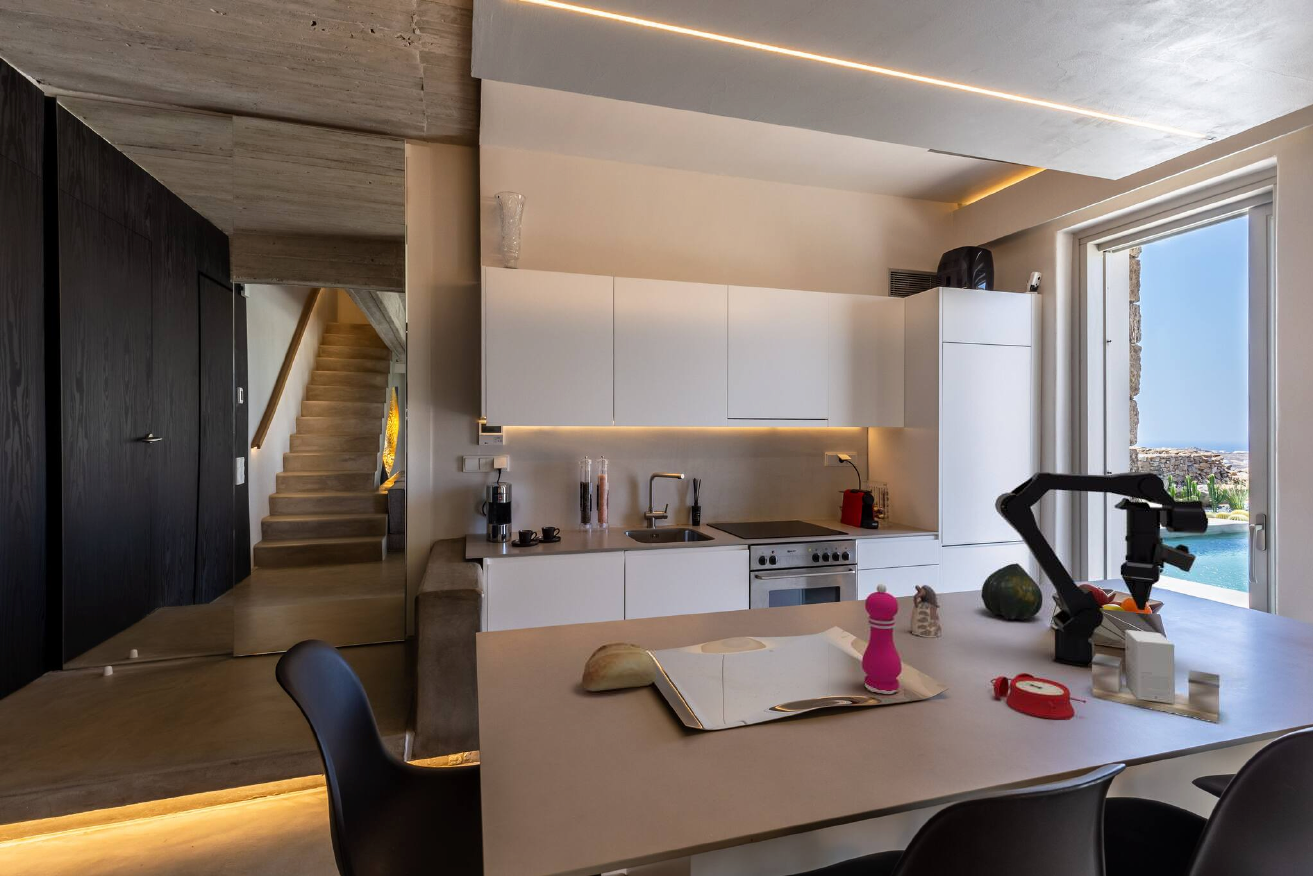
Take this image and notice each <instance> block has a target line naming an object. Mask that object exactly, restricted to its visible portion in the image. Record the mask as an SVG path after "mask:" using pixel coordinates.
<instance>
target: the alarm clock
mask: <svg viewBox="0 0 1313 876" xmlns="http://www.w3.org/2000/svg"><path fill="white" fill-rule="evenodd" d="M1009 681H1010V682H1009ZM990 683H991V684H992V686H993V693H994V696H995V698H997V699H998V700H1001V701H1002V699H1001V698H1002V697H1004V698H1005V699H1006V704H1007V705H1008V706H1009V707H1010V708H1011V709H1014V710H1016V711H1018V712H1020V713H1023V714H1025V715H1028V716H1033V717H1038V718H1041V719H1042V718H1043V719H1051V720H1059V719H1060V720H1063V719H1064V720H1066V721H1070V720H1071V717H1073V716H1074V715H1075V709H1074V707H1073V706H1072V702H1071V700H1072V701H1075V702H1082V703H1083V704H1087V703H1086V702H1087V701H1086V700H1081V699H1077V698H1074V697H1071V692H1070V689H1069V688H1068V687H1067V686H1066V685H1064V684H1063V683H1059V682H1057V681H1053V680H1051V679H1045V678H1041V677H1034V675H1032V674H1030V673H1026V672H1023V673H1022V672H1021V673H1018V674H1016V675H1015V677H1014V678H1009V677H1006V676H998V677H996V678H992V679H991V680H990Z"/></svg>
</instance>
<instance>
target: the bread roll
mask: <svg viewBox="0 0 1313 876" xmlns="http://www.w3.org/2000/svg"><path fill="white" fill-rule="evenodd" d="M584 666H585V667H584V670H583V673H582V679H581V682H582V683H581V684H582V686H583V688H584V689H585V690H587V691H591V692H599V691H607V690H608V691H609V690H617V689H625V688H634V687H636V688H637V687H644V686H645V687H646V686H649V685H651V684H652V683H653V682H655V679H656V678H657V669H656V666H655V663H654V662H653V660H652V659H651V656H650V655H649V654H648V652H647V651H646V650H645V649H643V648H641V646H640V645H636V644H634V643H630V642H613V643H612V642H611V643H608V644H604V645H602V646H600V647H599V648H597V649H596V650H595V651H594V652H592V654H591V656H590V657H589V658H588V660H587V661H586V663H585V665H584Z"/></svg>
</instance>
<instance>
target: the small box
mask: <svg viewBox="0 0 1313 876" xmlns="http://www.w3.org/2000/svg"><path fill="white" fill-rule="evenodd" d="M1124 634H1125V635H1124V637H1125V638H1124V641H1125V645H1124V646H1125V684H1126V685H1127V686H1128V687H1129V689H1130V690H1131V691H1132V692H1133V694H1134V695H1135V696H1136V697H1137V698H1138V699H1141V700H1149V701H1158V702H1166V703H1175V694H1176V682H1175V680H1176V677H1175V676H1176V673H1175V672H1176V671H1175V644H1174V643H1173V642H1171V641H1170V640H1169V639H1168V638H1166V636H1164V635H1163V634H1162V633H1160V632H1154V631H1153V632H1151V631H1141V630H1131V629H1126V630H1125V631H1124Z"/></svg>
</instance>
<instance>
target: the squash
mask: <svg viewBox="0 0 1313 876" xmlns="http://www.w3.org/2000/svg"><path fill="white" fill-rule="evenodd" d="M1042 593H1043V592H1042V591H1041V587H1039V585H1038V584H1037V582H1036V581H1035V580H1034V579H1033V577H1032V576H1031V575H1030V574H1029V573H1027V571H1026V570H1025V569H1024V568H1023V567H1022V566H1021V565H1020V564H1019V563H1011V564H1008V565H1006V566H1003V567H1001V568H998V569H997V570H995V571H994V572H992V573H991V574H990V575H989V576H987V578H986V579H985V581H983V585H982V587H981V600H982V601H983V604H984V607H985V608H986V609H987V611H988V612H991V613H992V614H994V613H997V614H996V615H998V614H1001V615H1002V616H1003V618H1005V619H1007V620H1008V619H1013V620H1014V619H1016V620H1019V619H1020V621H1022V620H1026V619H1028V618H1031V617H1034V616H1036V615H1037V614H1038V613H1039V612H1040V611H1041V609H1042V606H1043V594H1042Z"/></svg>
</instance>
